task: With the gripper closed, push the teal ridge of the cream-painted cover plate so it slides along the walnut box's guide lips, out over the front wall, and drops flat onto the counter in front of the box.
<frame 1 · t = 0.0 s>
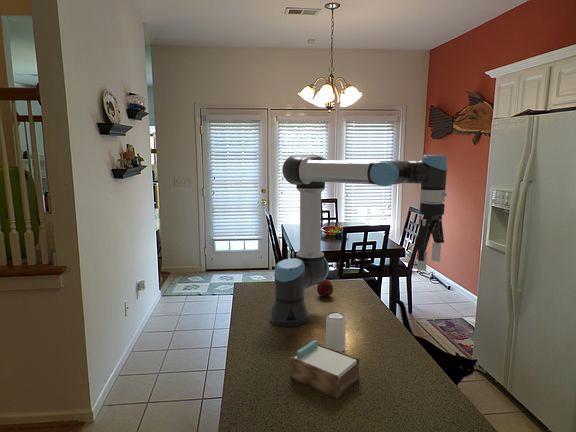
hand: (428, 265, 131), 28 cm above the kitchen island, fingers open, 13 cm apart
apple: (325, 296, 180), on the kitchen island
can: (335, 349, 132), on the kitchen island
box: (324, 378, 114), on the kitchen island
lid: (324, 362, 113), point 5 cm above the kitchen island, touching box
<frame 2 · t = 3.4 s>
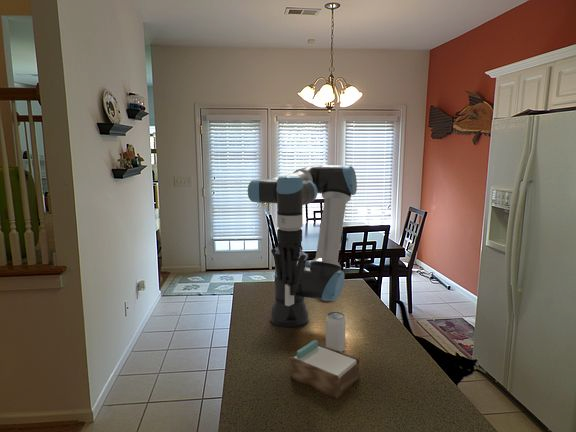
hand: (289, 304, 119), 20 cm above the kitchen island, fingers closed
nothing on the kitchen island moved.
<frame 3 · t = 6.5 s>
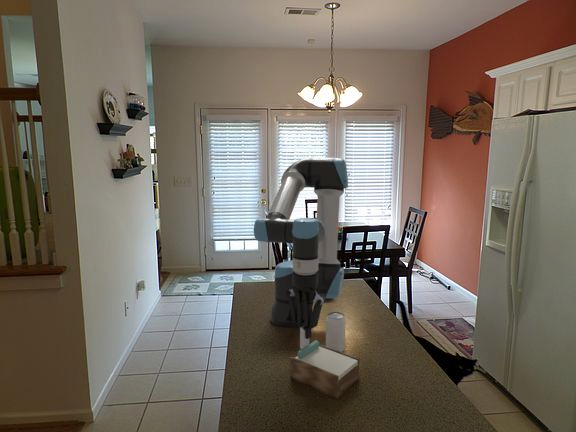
hand: (304, 347, 117), 8 cm above the kitchen island, fingers closed
lid: (325, 363, 113), point 5 cm above the kitchen island, touching gripper
everything else where it was.
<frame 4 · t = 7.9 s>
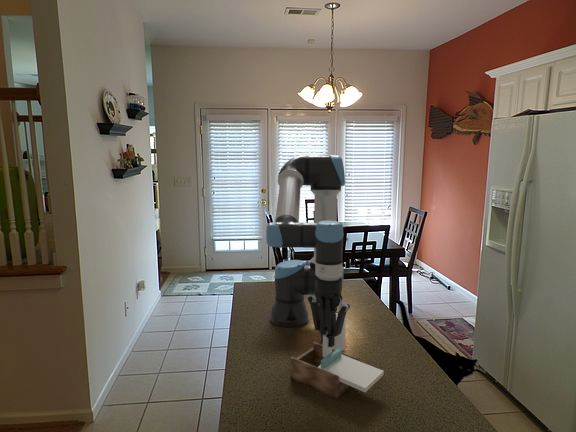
hand: (327, 355, 112), 8 cm above the kitchen island, fingers closed
lid: (350, 373, 108), point 5 cm above the kitchen island, touching box
everything else where it was.
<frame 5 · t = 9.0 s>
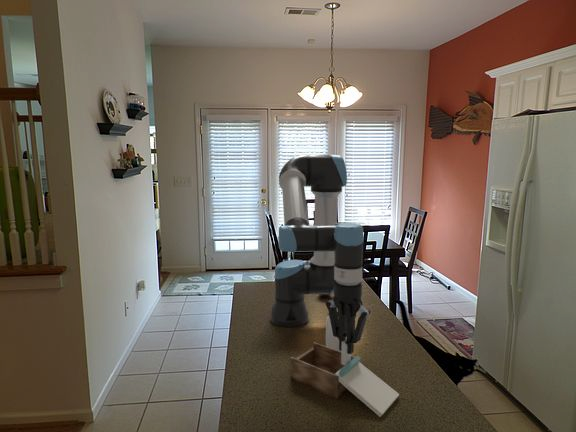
hand: (346, 362, 108), 8 cm above the kitchen island, fingers closed
lid: (365, 387, 105), point 3 cm above the kitchen island, tilted 22°
everything else where it was.
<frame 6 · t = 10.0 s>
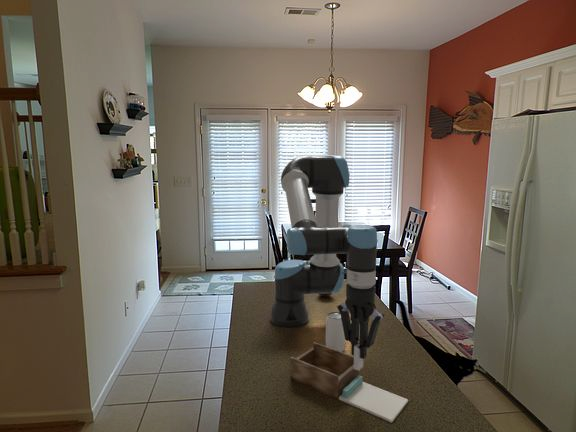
hand: (358, 367, 106), 8 cm above the kitchen island, fingers closed
lid: (373, 402, 104), on the kitchen island
everything else where it was.
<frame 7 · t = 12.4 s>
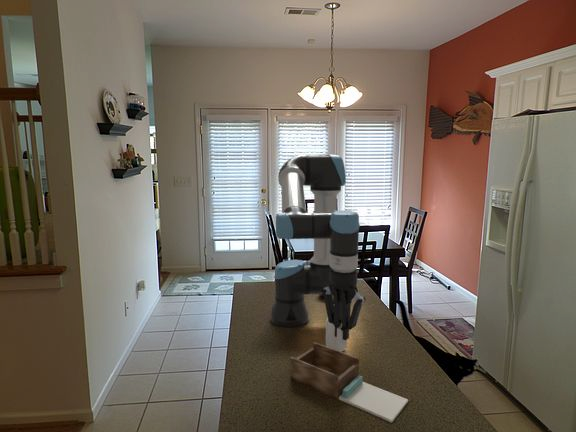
hand: (341, 348, 110), 11 cm above the kitchen island, fingers closed
nothing on the kitchen island moved.
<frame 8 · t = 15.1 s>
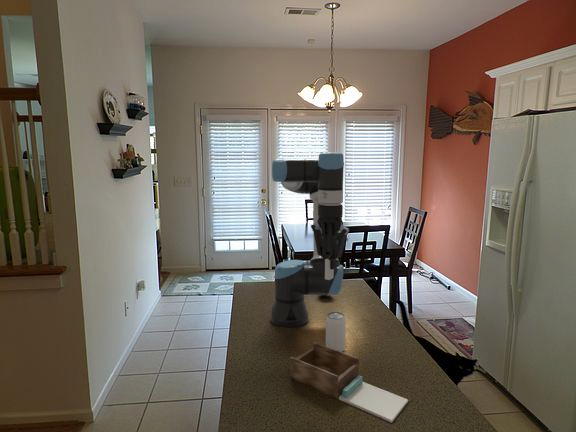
hand: (329, 278, 122), 26 cm above the kitchen island, fingers closed
nothing on the kitchen island moved.
at the end: lid inside the target area (3.7 cm from its centre), on the kitchen island; lid touching kitchen island; lid tilted 0° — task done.
